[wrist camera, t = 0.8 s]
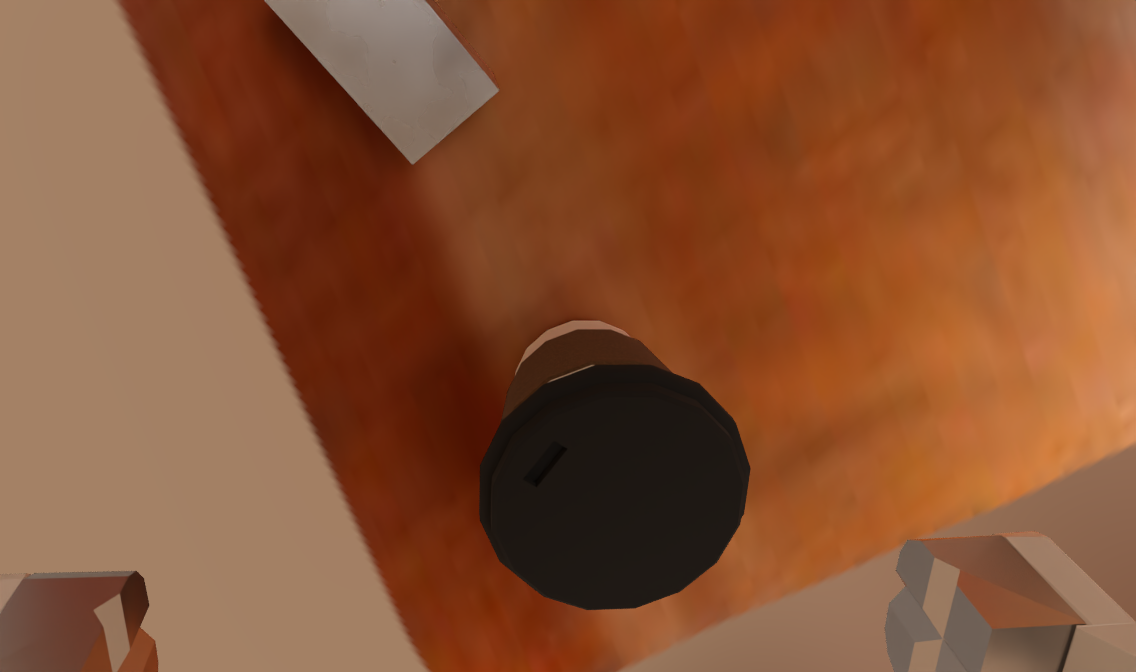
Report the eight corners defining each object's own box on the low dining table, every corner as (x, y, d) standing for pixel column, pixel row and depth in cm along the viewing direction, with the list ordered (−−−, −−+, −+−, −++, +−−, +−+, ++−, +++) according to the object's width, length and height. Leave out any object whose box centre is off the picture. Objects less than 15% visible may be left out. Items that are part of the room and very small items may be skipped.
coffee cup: (428, 404, 47) (422, 546, 36) (557, 229, 44) (593, 326, 33) (600, 503, 50) (643, 661, 39) (729, 348, 47) (814, 470, 36)
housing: (364, -85, 38) (352, -89, 33) (494, 74, 41) (500, 91, 36) (284, -10, 39) (261, -4, 34) (417, 140, 42) (413, 165, 37)
